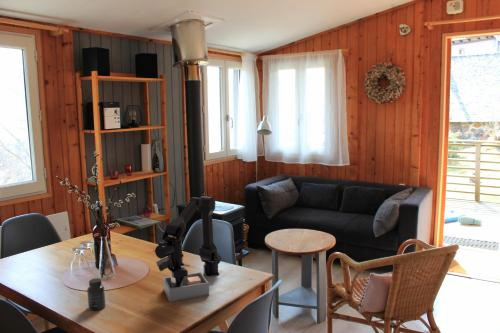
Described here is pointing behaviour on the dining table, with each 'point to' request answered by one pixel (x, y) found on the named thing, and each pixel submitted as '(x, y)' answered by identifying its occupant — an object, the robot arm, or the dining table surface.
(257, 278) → the dining table surface
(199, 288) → the tote
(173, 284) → the aluminium cylinder
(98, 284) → the supplement bottle
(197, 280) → the terracotta cube
